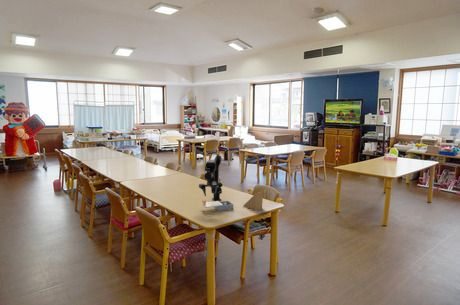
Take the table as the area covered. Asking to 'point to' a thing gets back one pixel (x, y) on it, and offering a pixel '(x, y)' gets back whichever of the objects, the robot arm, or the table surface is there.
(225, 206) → the tub
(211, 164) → the robot arm
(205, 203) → the lid
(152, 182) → the table surface
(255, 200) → the sandwich container
